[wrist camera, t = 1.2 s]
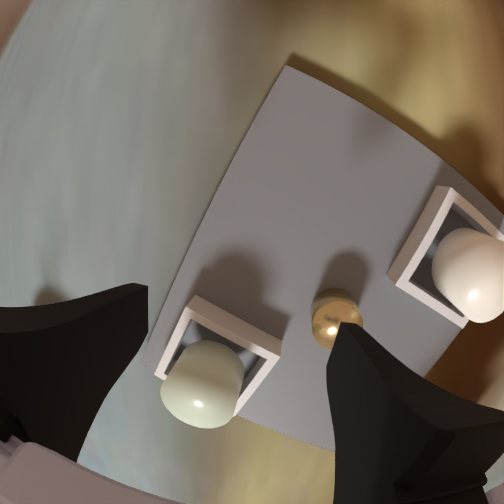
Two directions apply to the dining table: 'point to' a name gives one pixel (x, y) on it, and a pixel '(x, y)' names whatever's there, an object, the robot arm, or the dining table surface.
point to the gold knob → (332, 314)
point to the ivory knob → (471, 273)
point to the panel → (318, 251)
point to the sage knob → (204, 384)
